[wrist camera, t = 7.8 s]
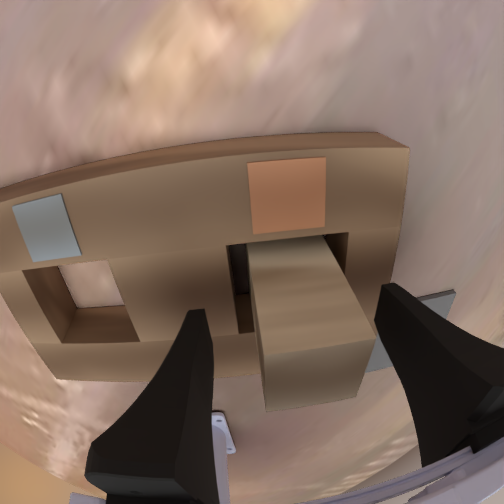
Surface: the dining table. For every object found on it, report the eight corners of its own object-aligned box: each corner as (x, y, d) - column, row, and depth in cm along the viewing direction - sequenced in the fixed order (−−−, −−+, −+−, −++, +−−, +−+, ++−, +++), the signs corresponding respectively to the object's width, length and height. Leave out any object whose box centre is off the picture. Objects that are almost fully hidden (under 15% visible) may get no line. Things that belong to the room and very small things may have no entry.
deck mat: (428, 352, 23) (429, 355, 23) (355, 370, 23) (357, 374, 22) (453, 289, 19) (456, 292, 19) (372, 306, 19) (374, 310, 19)
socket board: (355, 320, 20) (371, 355, 17) (68, 346, 19) (56, 380, 16) (377, 132, 13) (411, 148, 11) (-4, 190, 12) (-37, 215, 10)
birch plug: (309, 274, 17) (355, 396, 10) (248, 280, 17) (266, 411, 10) (312, 218, 15) (376, 337, 9) (244, 224, 15) (264, 355, 8)
